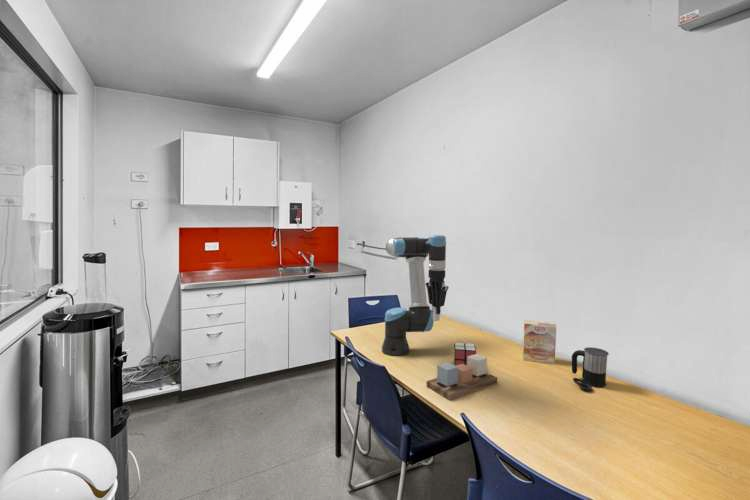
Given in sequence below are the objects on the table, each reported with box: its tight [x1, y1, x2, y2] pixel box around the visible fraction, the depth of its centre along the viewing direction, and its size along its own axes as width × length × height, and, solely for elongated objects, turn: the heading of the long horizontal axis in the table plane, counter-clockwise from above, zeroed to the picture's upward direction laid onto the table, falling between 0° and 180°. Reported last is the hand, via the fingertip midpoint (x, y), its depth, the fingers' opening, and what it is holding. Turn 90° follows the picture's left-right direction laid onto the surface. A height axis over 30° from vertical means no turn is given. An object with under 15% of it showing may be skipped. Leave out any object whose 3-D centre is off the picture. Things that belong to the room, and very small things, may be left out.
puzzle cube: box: [453, 342, 477, 366], centre depth 179 cm, size 10×10×10 cm
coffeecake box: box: [522, 319, 557, 365], centre depth 186 cm, size 15×7×20 cm, turn 68°
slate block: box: [436, 361, 458, 387], centre depth 154 cm, size 6×6×7 cm
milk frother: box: [571, 346, 610, 392], centre depth 158 cm, size 14×16×15 cm
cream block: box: [467, 353, 488, 377], centre depth 163 cm, size 6×6×7 cm
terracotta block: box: [456, 364, 474, 384], centre depth 159 cm, size 6×6×7 cm
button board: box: [426, 372, 498, 401], centre depth 159 cm, size 14×29×2 cm, turn 122°
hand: (436, 320), depth 166 cm, fingers closed
